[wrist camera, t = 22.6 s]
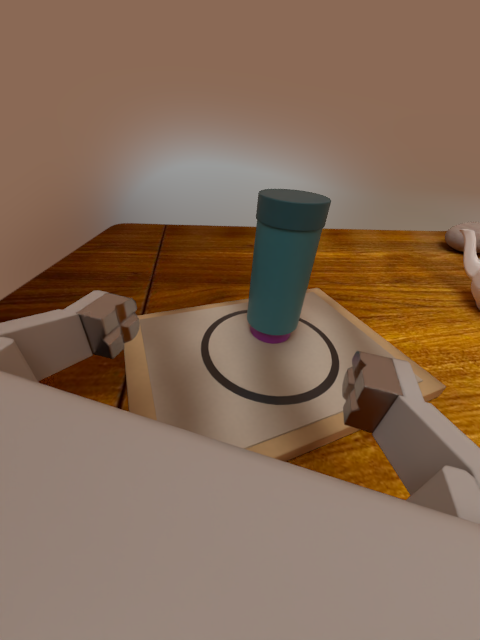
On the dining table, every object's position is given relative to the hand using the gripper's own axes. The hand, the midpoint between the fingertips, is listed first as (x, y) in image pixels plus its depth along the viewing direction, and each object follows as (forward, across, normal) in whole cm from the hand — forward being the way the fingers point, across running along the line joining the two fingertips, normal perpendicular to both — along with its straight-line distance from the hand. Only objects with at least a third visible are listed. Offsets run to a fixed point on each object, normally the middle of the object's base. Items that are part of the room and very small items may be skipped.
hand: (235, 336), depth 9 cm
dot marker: (+11, 0, +8) cm, 14 cm away
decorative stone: (+55, -34, +10) cm, 65 cm away
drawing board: (+9, -1, +9) cm, 13 cm away
